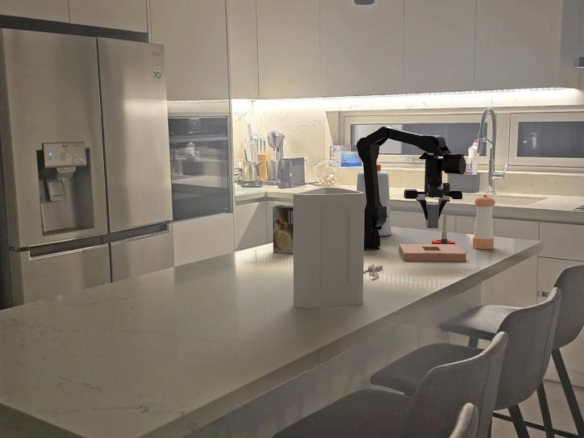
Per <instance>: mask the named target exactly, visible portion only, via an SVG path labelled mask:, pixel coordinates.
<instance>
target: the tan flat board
mask: <svg viewBox="0 0 584 438" xmlns="http://www.w3.org/2000/svg"><path fill="white" fill-rule="evenodd" d="M398 252H399V254H400V256H401V257H402V259H403V261H413V262H414V261H415V262H416V261H418V262H421V261H424V262H430V261H431V262H437V261H438V262H466V261H467V253H466V251H464V249H462V247H460V246H459V245H458V244H456V243H455V244H434V243H428V244H427V243H425V244H424V243H399V245H398Z"/></svg>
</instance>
